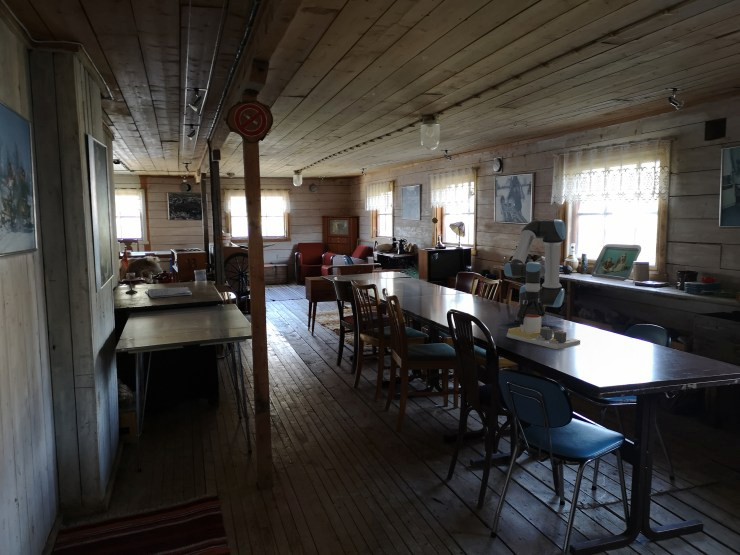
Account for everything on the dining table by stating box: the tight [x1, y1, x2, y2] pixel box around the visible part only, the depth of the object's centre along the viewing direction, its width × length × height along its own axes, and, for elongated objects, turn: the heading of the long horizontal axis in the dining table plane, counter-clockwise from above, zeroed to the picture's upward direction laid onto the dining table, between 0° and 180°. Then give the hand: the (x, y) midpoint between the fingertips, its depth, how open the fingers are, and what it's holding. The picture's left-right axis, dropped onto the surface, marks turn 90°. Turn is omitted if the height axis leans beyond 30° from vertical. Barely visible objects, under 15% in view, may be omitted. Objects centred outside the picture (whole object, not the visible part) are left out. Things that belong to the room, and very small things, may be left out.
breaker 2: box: [553, 330, 568, 343], centre depth 270 cm, size 4×4×6 cm
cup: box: [521, 314, 542, 333], centre depth 289 cm, size 10×10×10 cm
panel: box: [506, 326, 581, 350], centre depth 283 cm, size 20×32×4 cm, turn 34°
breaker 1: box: [540, 326, 553, 340], centre depth 277 cm, size 4×4×6 cm
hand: (530, 329), depth 289 cm, fingers open, 13 cm apart
